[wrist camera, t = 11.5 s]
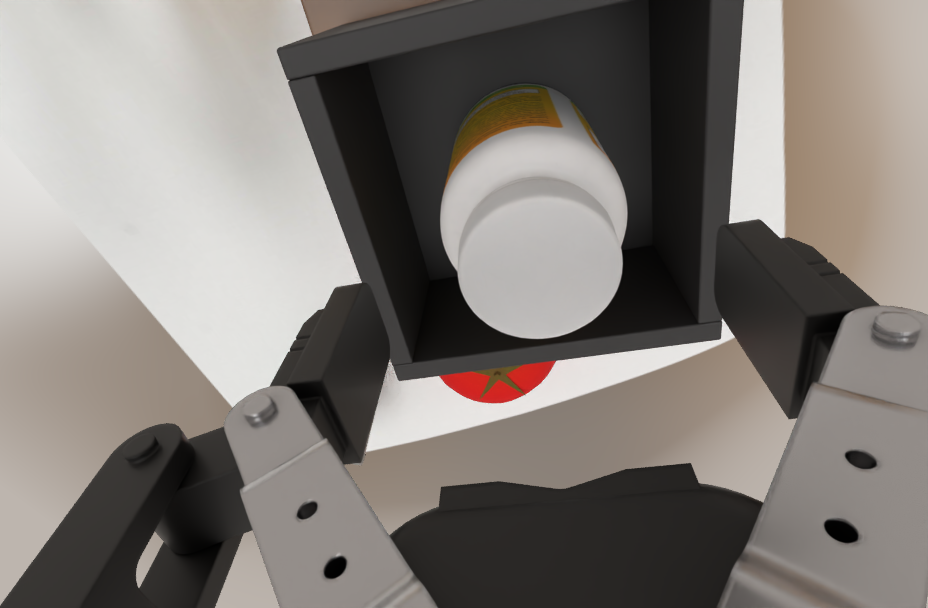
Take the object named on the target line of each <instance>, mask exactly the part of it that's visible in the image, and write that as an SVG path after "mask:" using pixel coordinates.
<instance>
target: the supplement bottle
mask: <svg viewBox="0 0 928 608" xmlns="http://www.w3.org/2000/svg"><path fill="white" fill-rule="evenodd" d="M626 226H627V201H626V196H625V192H624V189H623V186H622V183H621V181H620V178H619V176H618V174H617V171H616V169H615V167H614V166H613V164H612V162H611V161H610V159H609V157H608V156H607V154H606V153H605V151H604V149H603V148H602V146H601V144H600V143H599V141H598V139H597V137H596V135H595V134H594V132H593V130H592V129H591V127H590V125H589V123H588V122H587V120H586V118H585V117H584V115H583V114H582V112H581V111H580V110H579V109H578V107H577V106H576V105H575V104H574V103H573V102H572V101H571V100H570V99H568V98H567V97H566V96H564V95H563V94H562V93H560V92H558V91H556V90H554V89H552V88H549V87H546V86H542V85H538V84H515V85H510V86H506V87H503V88H500V89H497V90H495V91H493V92H491V93H490V94H488V95H486V96H485V97H484V98H482V99H481V100H480V101H479V102H478V103H477V104H476V105H475V106H474V107H473V108H472V109H471V110H470V111H469V113H468V114H467V116H466V117H465V119H464V120H463V122H462V124H461V126H460V128H459V131H458V133H457V136H456V139H455V143H454V147H453V152H452V157H451V162H450V166H449V171H448V175H447V180H446V184H445V188H444V193H443V197H442V203H441V214H440V228H441V236H442V241H443V245H444V248H445V250H446V253H447V255H448V257H449V259H450V261H451V263H452V265H453V266H454V268H455V269H456V270H457V272H458V281H459V285H460V289H461V292H462V294H463V296H464V298H465V300H466V302H467V304H468V305H469V307H470V308H471V309H472V311H473V312H474V313H475V314H476V315H477V316H478V317H479V318H480V319H481V320H483V321H484V322H485V323H486V324H487V325H489V326H491V327H492V328H494V329H496V330H498V331H500V332H503V333H505V334H508V335H512V336H516V337H520V338H530V339H544V338H552V337H558V336H561V335H565V334H568V333H571V332H573V331H575V330H577V329H579V328H581V327H583V326H585V325H586V324H588V323H590V322H591V321H592V320H594V319H595V318H596V317H597V316H598V315H600V314H601V312H602V311H603V310H604V309H605V308H606V307H607V306H608V304H609V303H610V302H611V300H612V298H613V297H614V295H615V293H616V291H617V289H618V286H619V283H620V280H621V275H622V267H623V258H622V250H621V245H622V242H623V239H624V235H625V231H626Z"/></svg>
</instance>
